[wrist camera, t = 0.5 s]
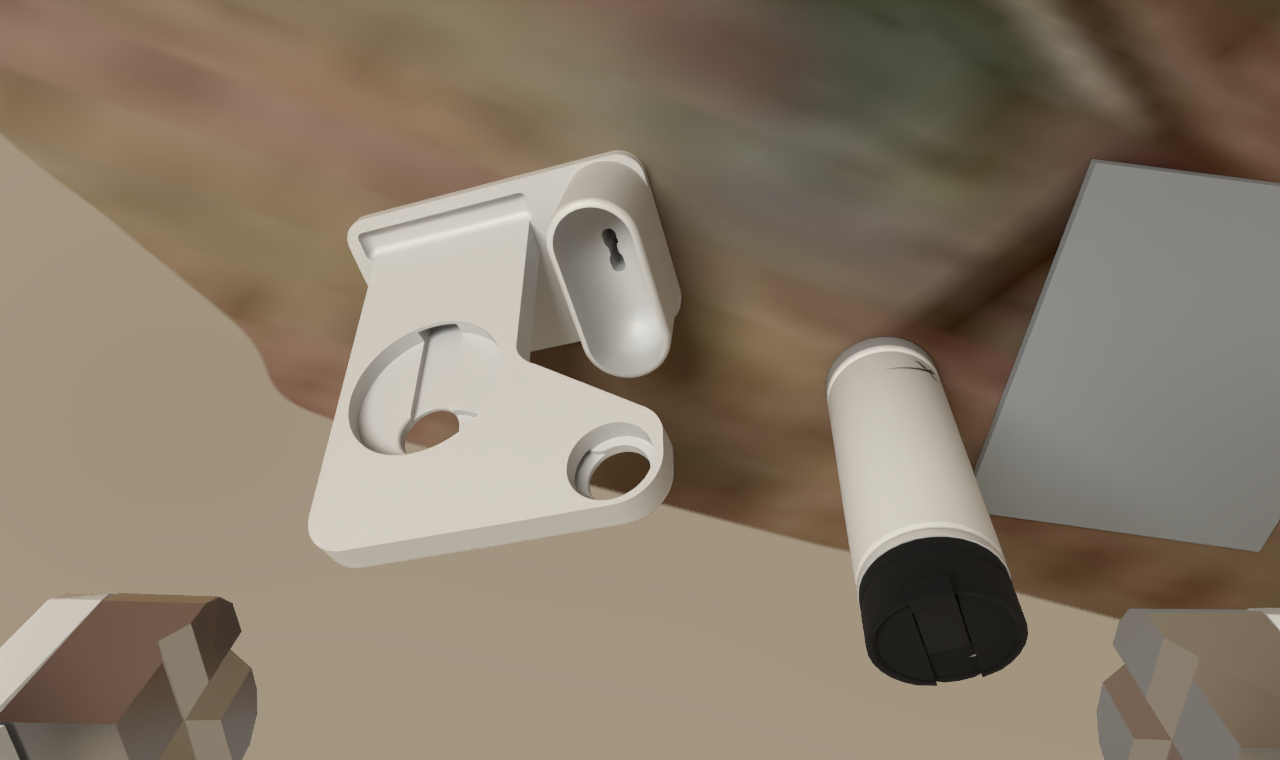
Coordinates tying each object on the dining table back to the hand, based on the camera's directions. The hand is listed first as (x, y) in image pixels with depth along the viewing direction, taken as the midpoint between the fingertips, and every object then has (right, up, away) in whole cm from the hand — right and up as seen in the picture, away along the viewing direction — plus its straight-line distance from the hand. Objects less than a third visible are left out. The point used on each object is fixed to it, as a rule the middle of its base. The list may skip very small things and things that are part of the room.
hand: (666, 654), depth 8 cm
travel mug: (+14, +3, +43) cm, 46 cm away
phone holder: (-7, +9, +42) cm, 43 cm away
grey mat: (+30, +3, +41) cm, 51 cm away
